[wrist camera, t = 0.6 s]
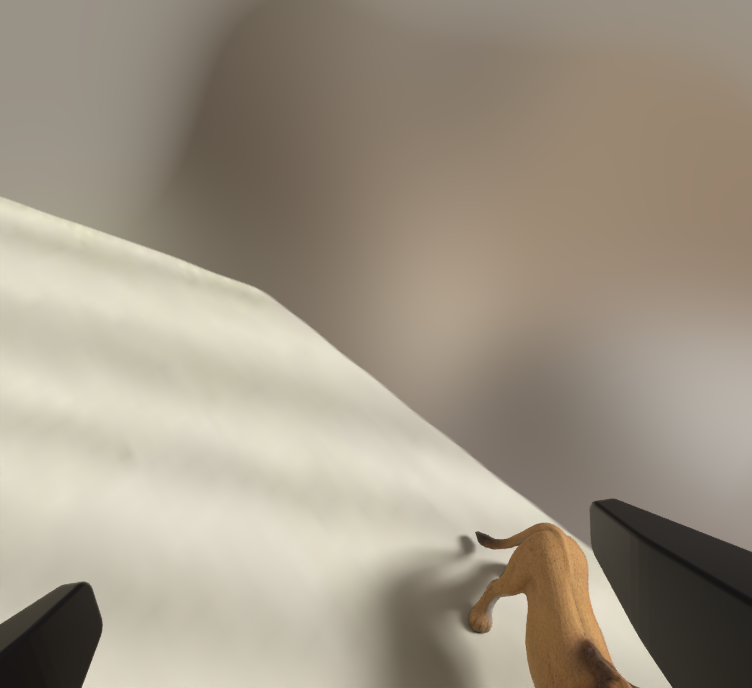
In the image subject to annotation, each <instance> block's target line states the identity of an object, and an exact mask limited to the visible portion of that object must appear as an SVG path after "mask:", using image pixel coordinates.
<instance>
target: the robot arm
mask: <svg viewBox="0 0 752 688" xmlns="http://www.w3.org/2000/svg"><path fill="white" fill-rule="evenodd" d="M590 535H591V545H592V549H593V552H594V555H595V557H596V559H597V561H598V563H599V564H600V566H601V568H602V570H603V572H604V574H605V576H606V577H607V579H608V581H609V583H610V585H611V587H612V589H613V590H614V592H615V594H616V596H617V598H618V600H619V602H620V603H621V605H622V607H623V609H624V611H625V613H626V615H627V616H628V618H629V620H630V622H631V624H632V626H633V627H634V629H635V631H636V633H637V634H638V636H639V638H640V639H641V641H642V643H643V644H644V646H645V647H646V649H647V650H648V652H649V653H650V655H651V656H652V658H653V659H654V661H655V662H656V664H657V665H658V667H659V668H660V670H661V671H662V673H663V674H664V676H665V677H666V679H667V680H668V682H669V683H670V685H671V686H672V688H752V552H750V551H748V550H745V549H743V548H740V547H738V546H735V545H733V544H730V543H727V542H725V541H722V540H720V539H717V538H714V537H712V536H710V535H707V534H704V533H702V532H699V531H697V530H694V529H692V528H689V527H686V526H684V525H681V524H679V523H676V522H674V521H671V520H669V519H666V518H663V517H661V516H658V515H656V514H653V513H651V512H648V511H645V510H643V509H640V508H637V507H635V506H632V505H630V504H627V503H624V502H622V501H620V500H617V499H605V500H599V501H594V502H592V504H591V505H590ZM102 626H103V624H102V617H101V614H100V611H99V608H98V605H97V602H96V598H95V595H94V592H93V589H92V587H91V585H90V584H89V583H87V582H77V583H71V584H64V585H62V586H60V587H58V588H56V589H55V590H53V591H52V592H50V593H48V594H47V595H45V596H44V597H42V598H41V599H39V600H37V601H36V602H34V603H33V604H31V605H30V606H28V607H27V608H25V609H23V610H22V611H20V612H19V613H17V614H16V615H14V616H12V617H11V618H9V619H8V620H6V621H5V622H3V623H2V624H0V688H82V685H83V683H84V680H85V677H86V675H87V672H88V669H89V667H90V664H91V661H92V659H93V656H94V653H95V650H96V648H97V645H98V642H99V640H100V637H101V633H102Z"/></svg>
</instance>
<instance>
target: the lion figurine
mask: <svg viewBox="0 0 752 688" xmlns="http://www.w3.org/2000/svg"><path fill="white" fill-rule="evenodd" d="M475 533H476V536H477V539H478V542H479V543H480V544H481V545H482V546H484V547H486V548H490V549H507V548H512V547H514V546H518V547H517V549H516V550H515V551H514V553H513V554H512V556H511V558H510V560H509V562H508V565H507V567H506V569H505V572H504V573H503V574H502V575H501V577H500V578H499V579H495V580H493V581H491V582H490V584H489V585H488V587H487V589H486V591H485V592H484V594H483V596H482V597H481V599H480V600H479V601H478V602H477V603H476V605H475V606H474V607H473V609H472V611H471V613H470V616H469V622H470V625H471V626H472V628H473V629H474V630H475V631H477V632H482V633H487V632H489V631H490V629H491V627H492V610H493V607H494V605H495V603H496V601H497V600H498V599H499V598H500V597H505V596H513V595H517V594H520V593H524V594H525V595H526V596H527V601H528V614H527V623H526V641H525V644H526V652H527V660H528V665H529V669H530V674H531V677H532V680H533V683H534V686H535V688H639V687H636V686H634V685H632V684H630V683H629V682H627V681H626V680H625V679H624V678H623V677H622V676H621V675H620V674H619V673H618V672H617V670H616V669H615V667H614V665H613V663H612V660H611V657H610V654H609V652H608V649H607V646H606V643H605V640H604V637H603V634H602V631H601V629H600V627H599V625H598V623H597V621H596V618H595V616H594V613H593V610H592V606H591V602H590V598H589V591H588V563H587V559H586V556H585V554H584V552H583V551H582V549H581V548H580V547H579V545H578V544H577V542H576V541H575V540H574V539H572V538H571V537H569V536H567V535H566V534H565V533H564V532H563V531H562V530H561V529H560V528H559V527H557V526H555V525H553V524H550V523H540V524H536V525H534V526H532V527H530V528H528V529H526V530H524V531H523V532H521V533H519V534H516V535H514V536H512V537H510V538H508V539H494V538H492V537H490V536H489V535H486V534H483V533H481V532H479V531H478V532H475Z"/></svg>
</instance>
